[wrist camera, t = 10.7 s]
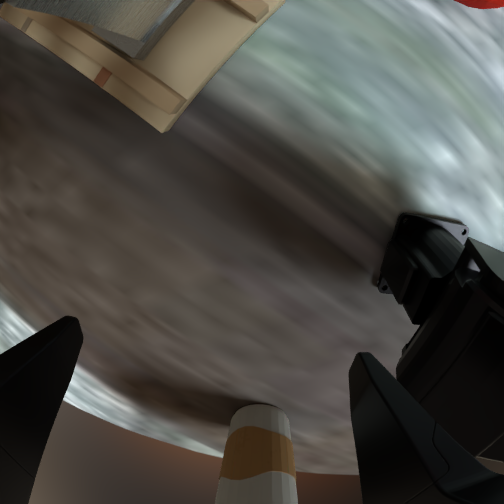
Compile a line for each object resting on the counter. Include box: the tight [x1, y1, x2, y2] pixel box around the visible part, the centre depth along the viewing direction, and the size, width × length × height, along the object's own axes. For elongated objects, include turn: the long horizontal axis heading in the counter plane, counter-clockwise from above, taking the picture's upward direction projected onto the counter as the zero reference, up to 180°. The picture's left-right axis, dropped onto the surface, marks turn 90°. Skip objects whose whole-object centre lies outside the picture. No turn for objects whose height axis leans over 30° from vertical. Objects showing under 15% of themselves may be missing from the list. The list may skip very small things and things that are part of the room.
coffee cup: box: [215, 404, 298, 504], centre depth 25 cm, size 8×8×15 cm
